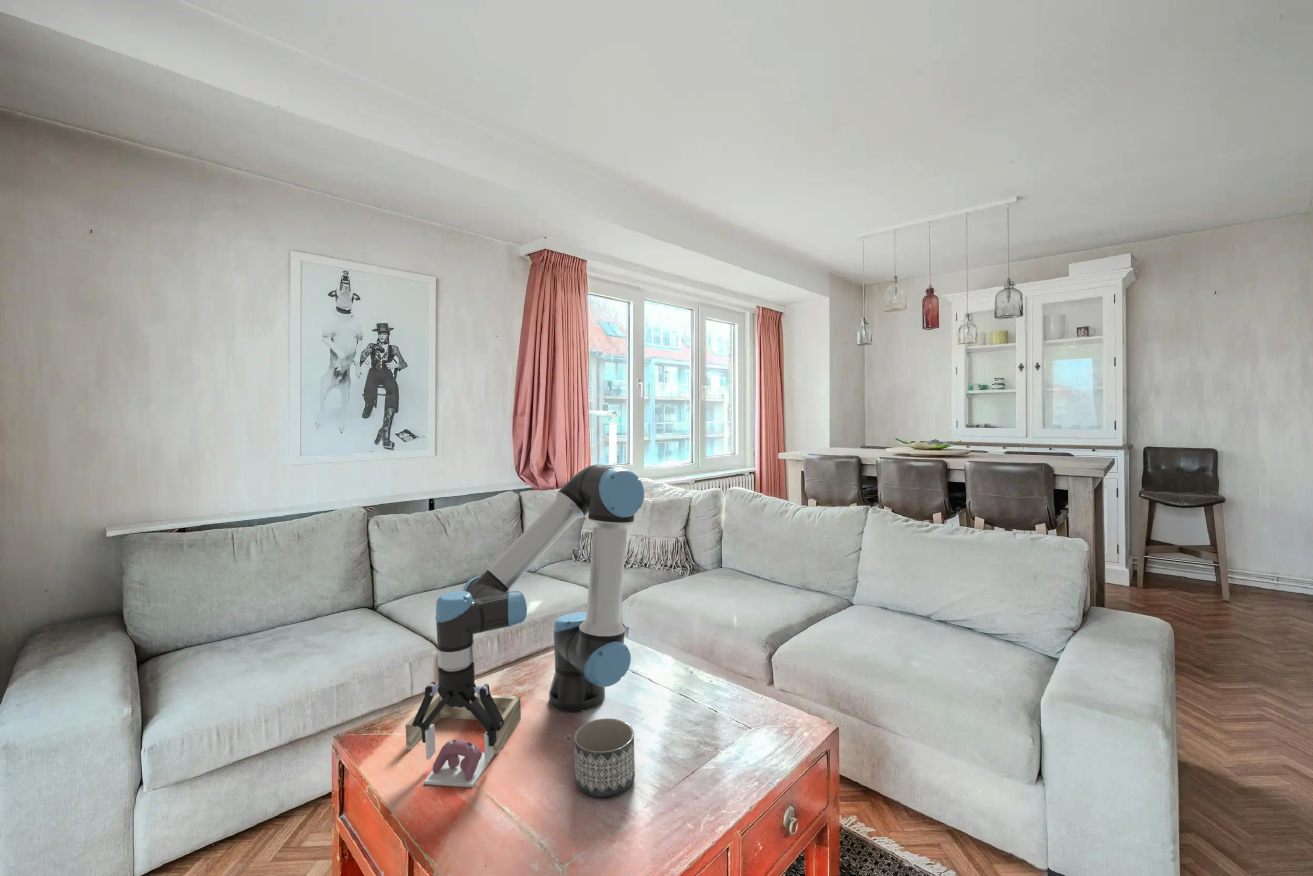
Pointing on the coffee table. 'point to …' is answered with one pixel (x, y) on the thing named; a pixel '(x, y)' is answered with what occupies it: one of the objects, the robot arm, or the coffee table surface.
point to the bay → (505, 705)
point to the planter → (604, 757)
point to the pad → (456, 774)
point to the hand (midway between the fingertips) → (459, 757)
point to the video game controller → (452, 752)
